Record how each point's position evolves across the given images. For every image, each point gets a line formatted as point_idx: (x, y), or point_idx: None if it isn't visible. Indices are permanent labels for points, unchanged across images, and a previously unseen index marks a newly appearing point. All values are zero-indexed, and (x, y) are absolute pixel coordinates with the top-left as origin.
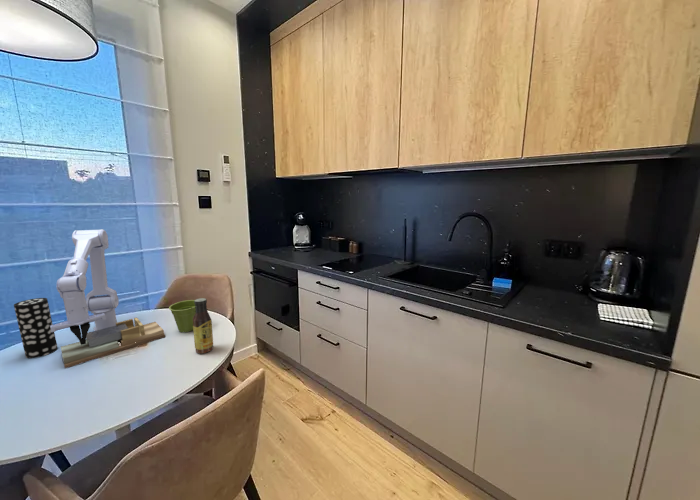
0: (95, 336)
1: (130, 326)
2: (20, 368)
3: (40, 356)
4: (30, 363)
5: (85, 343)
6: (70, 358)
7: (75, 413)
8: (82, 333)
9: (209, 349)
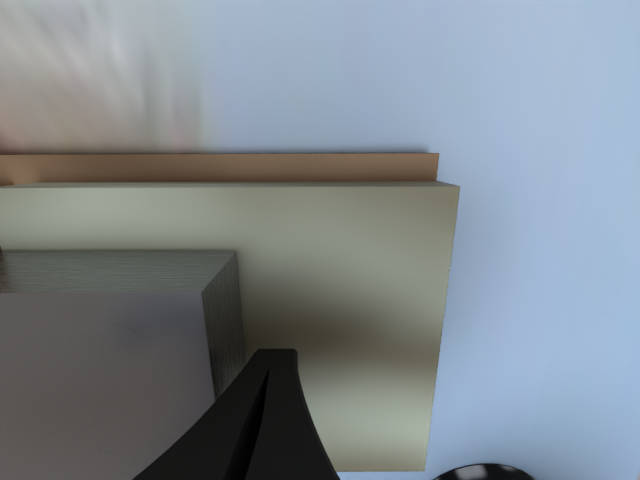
0: (119, 363)
1: None
2: (605, 384)
3: (497, 466)
4: (552, 414)
5: (258, 349)
6: (397, 184)
7: None
8: (224, 465)
9: None
